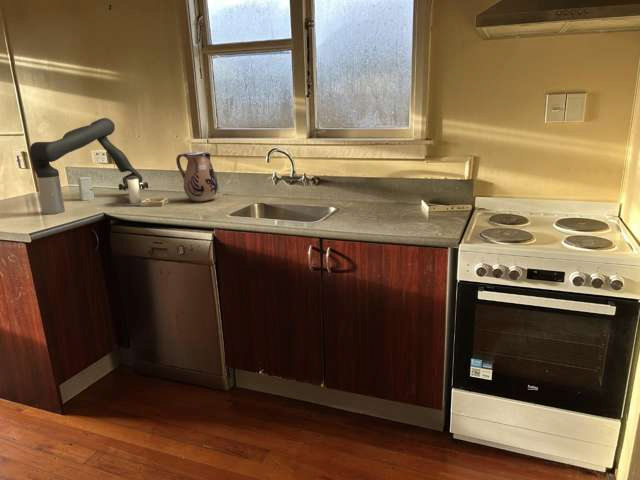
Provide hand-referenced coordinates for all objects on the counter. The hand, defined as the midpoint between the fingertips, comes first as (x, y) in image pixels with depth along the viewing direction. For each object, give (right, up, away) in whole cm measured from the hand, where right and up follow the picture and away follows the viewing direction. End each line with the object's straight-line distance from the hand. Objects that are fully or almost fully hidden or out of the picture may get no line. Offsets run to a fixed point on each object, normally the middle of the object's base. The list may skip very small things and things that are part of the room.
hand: (133, 188), depth 240 cm
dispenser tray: (+9, -8, +4) cm, 13 cm away
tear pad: (-1, -8, +4) cm, 9 cm away
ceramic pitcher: (+30, -5, +13) cm, 33 cm away
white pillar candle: (-1, -7, +4) cm, 8 cm away
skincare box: (-33, -4, +20) cm, 39 cm away
